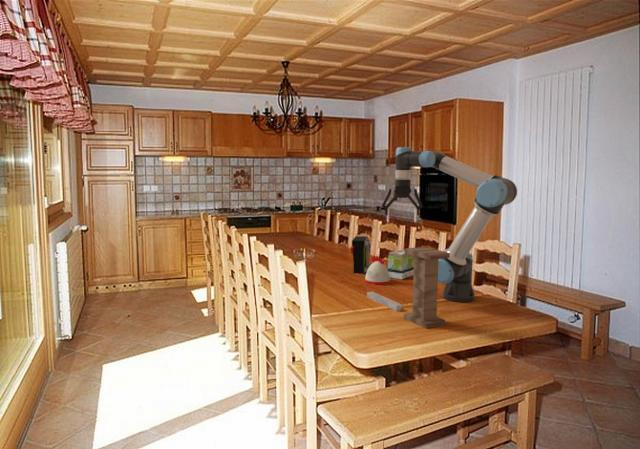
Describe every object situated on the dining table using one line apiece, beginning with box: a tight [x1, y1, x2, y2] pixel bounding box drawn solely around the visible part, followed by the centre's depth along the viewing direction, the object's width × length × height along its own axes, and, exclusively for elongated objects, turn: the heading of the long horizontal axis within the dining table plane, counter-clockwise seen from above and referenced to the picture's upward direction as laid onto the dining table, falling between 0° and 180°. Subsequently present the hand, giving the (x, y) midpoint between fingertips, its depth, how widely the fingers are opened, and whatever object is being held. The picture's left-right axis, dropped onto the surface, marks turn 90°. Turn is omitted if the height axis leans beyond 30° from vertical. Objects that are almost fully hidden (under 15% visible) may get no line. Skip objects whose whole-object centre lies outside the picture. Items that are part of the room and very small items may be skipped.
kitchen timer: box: [364, 254, 391, 286], centre depth 269 cm, size 14×14×15 cm
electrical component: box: [350, 235, 371, 275], centre depth 298 cm, size 18×10×20 cm, turn 168°
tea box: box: [387, 249, 414, 280], centre depth 283 cm, size 15×10×15 cm
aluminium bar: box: [366, 291, 403, 312], centre depth 228 cm, size 25×3×3 cm, turn 26°
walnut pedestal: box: [403, 246, 450, 329], centre depth 200 cm, size 16×10×30 cm, turn 28°
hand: (401, 222), depth 240 cm, fingers open, 13 cm apart
